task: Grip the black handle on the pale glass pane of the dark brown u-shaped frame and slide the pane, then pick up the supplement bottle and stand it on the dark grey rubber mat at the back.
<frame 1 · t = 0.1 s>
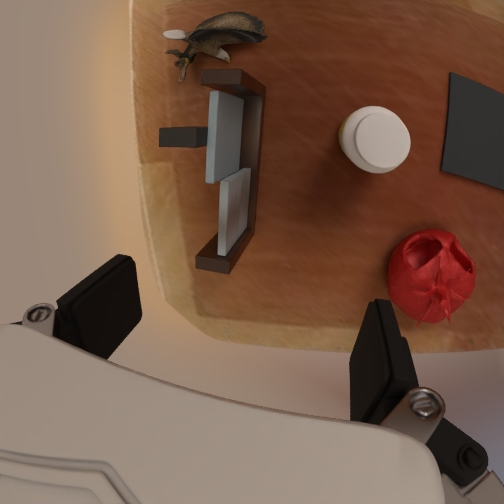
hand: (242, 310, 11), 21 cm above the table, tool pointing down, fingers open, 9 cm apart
supplement bottle: (363, 137, 26), on the table
dark brown u-shaped frame: (245, 160, 30), on the table
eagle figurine: (224, 46, 25), on the table
rubber mat: (486, 134, 22), on the table
pomegranate: (421, 261, 30), on the table
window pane: (206, 135, 23), point 6 cm above the table, slide at 0.0 cm
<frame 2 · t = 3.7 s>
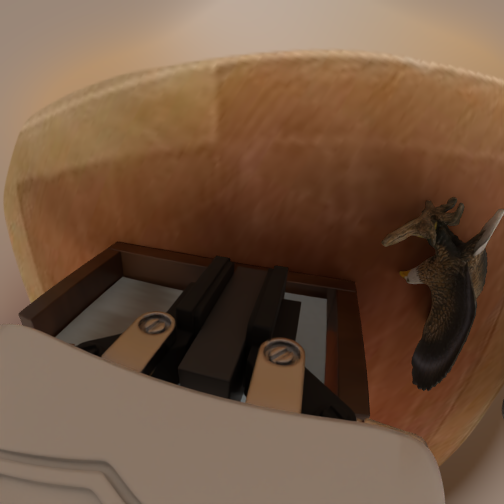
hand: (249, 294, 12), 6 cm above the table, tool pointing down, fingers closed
dark brown u-shaped frame: (223, 281, 19), on the table
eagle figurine: (431, 264, 15), on the table
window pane: (244, 322, 12), point 6 cm above the table, slide at 0.0 cm, touching gripper
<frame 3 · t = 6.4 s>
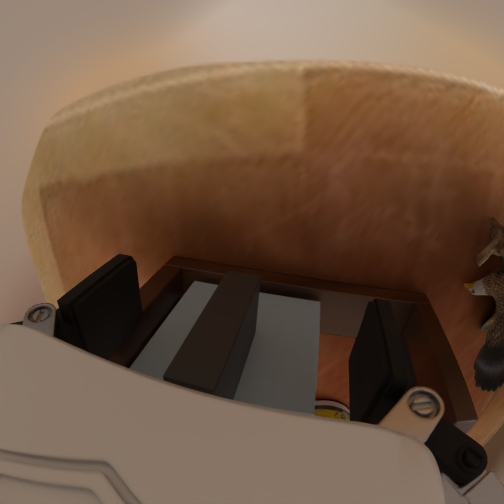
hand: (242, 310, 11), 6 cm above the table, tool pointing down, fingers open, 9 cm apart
supplement bottle: (321, 414, 22), on the table
dark brown u-shaped frame: (297, 297, 18), on the table
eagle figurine: (488, 276, 14), on the table
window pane: (234, 327, 12), point 6 cm above the table, slide at 5.1 cm
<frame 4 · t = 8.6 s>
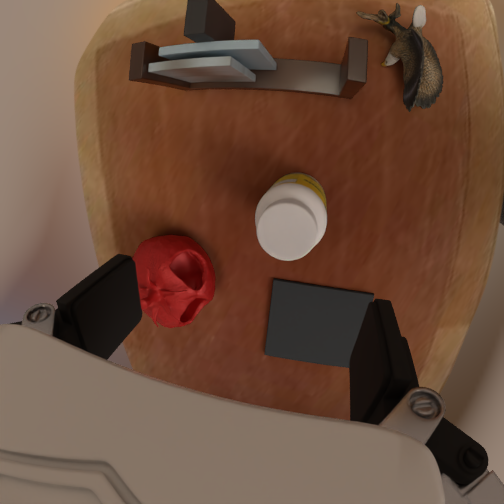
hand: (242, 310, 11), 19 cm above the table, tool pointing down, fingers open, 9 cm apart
supplement bottle: (298, 198, 28), on the table
dark brown u-shaped frame: (265, 75, 24), on the table
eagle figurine: (402, 62, 20), on the table
rubber mat: (315, 326, 33), on the table
pomegranate: (184, 265, 34), on the table
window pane: (220, 37, 18), point 6 cm above the table, slide at 5.1 cm
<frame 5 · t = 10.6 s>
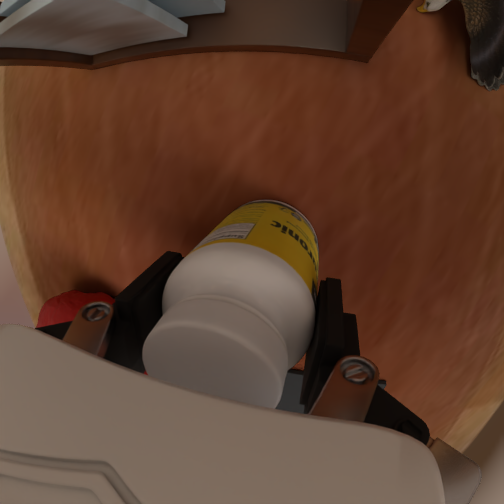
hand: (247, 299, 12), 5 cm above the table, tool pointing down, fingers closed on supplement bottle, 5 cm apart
supplement bottle: (269, 244, 16), on the table, touching gripper
dark brown u-shaped frame: (209, 27, 12), on the table
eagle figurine: (449, 12, 9), on the table
rubber mat: (298, 415, 21), on the table
pomegranate: (113, 327, 22), on the table
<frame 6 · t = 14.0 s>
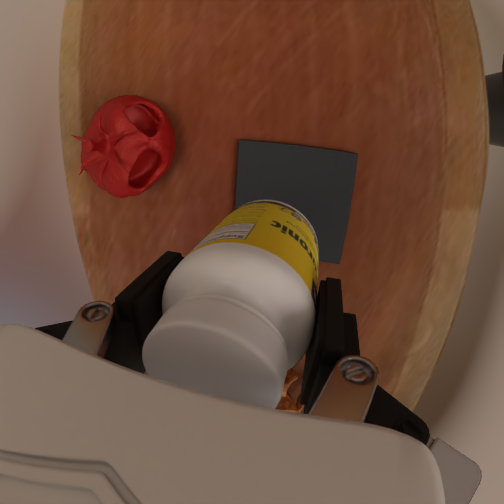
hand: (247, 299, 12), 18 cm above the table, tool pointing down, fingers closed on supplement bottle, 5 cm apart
supplement bottle: (269, 244, 16), point 13 cm above the table, touching gripper
cat figurine: (276, 372, 38), on the table
rubber mat: (292, 202, 28), on the table
pomegranate: (145, 142, 29), on the table
when the fingers open (5 cm above the table, at t = 17.2 s): supplement bottle stays where it is, resting on rubber mat.
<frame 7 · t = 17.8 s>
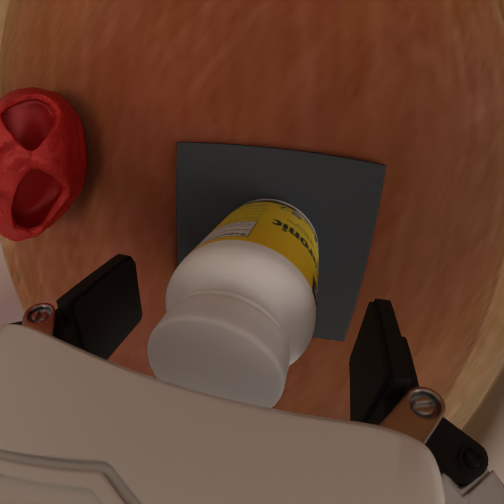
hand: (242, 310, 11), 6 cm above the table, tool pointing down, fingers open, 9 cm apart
supplement bottle: (270, 242, 16), resting on rubber mat
rubber mat: (269, 247, 17), on the table
pomegranate: (59, 152, 18), on the table
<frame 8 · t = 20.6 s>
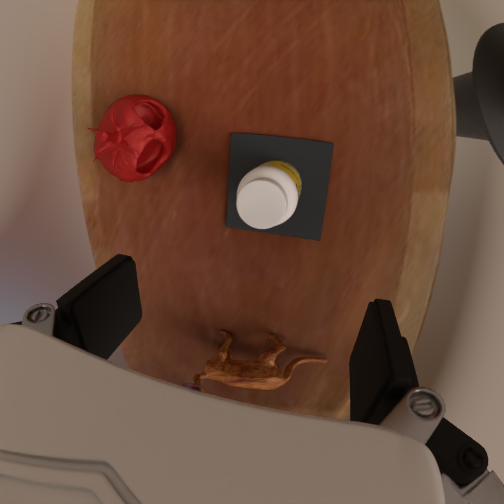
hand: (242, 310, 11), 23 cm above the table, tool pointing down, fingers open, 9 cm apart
supplement bottle: (277, 183, 32), resting on rubber mat
cat figurine: (266, 346, 42), on the table
rubber mat: (277, 185, 32), on the table
pomegranate: (150, 135, 33), on the table
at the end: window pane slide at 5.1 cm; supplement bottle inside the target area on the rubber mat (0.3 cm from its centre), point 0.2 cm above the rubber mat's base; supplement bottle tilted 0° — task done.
